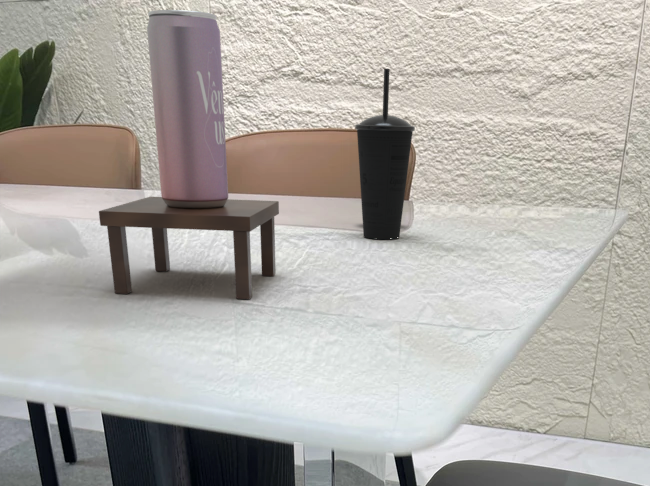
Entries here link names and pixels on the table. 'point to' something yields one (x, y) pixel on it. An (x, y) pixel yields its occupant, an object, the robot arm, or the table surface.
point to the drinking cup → (383, 169)
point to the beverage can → (188, 107)
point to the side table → (160, 217)
